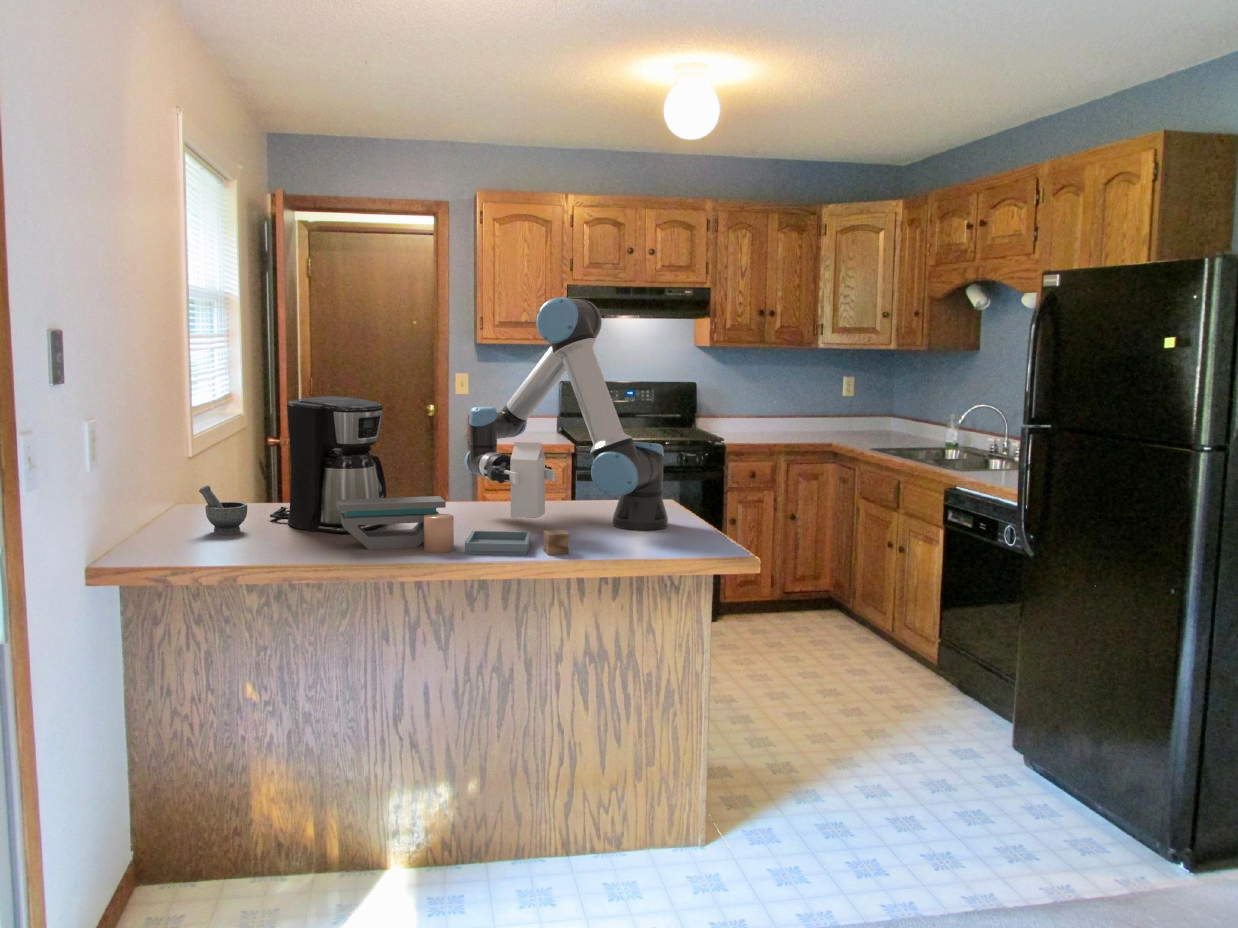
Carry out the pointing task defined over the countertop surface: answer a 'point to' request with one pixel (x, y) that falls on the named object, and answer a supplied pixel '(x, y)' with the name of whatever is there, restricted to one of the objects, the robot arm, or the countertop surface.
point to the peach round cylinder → (438, 533)
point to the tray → (498, 542)
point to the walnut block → (556, 542)
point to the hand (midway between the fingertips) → (535, 477)
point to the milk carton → (528, 480)
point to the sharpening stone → (388, 519)
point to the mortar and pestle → (223, 513)
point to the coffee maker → (331, 460)
